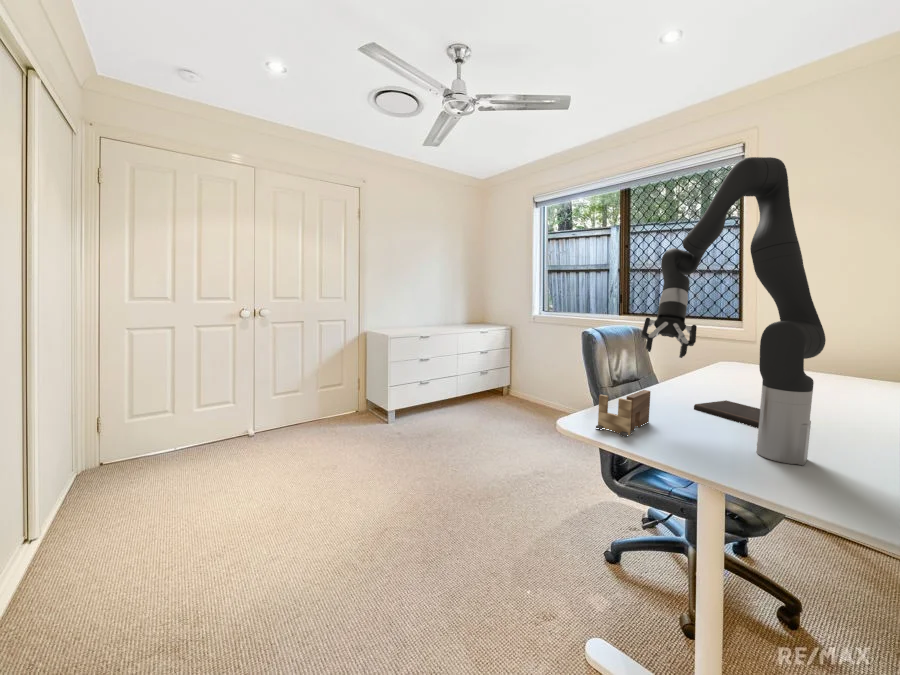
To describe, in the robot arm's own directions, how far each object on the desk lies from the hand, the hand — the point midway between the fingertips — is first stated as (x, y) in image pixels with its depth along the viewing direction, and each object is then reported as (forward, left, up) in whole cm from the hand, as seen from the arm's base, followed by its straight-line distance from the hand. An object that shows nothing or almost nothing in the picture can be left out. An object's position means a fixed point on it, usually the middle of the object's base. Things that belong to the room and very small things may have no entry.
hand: (665, 353), depth 116 cm
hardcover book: (-14, -30, -23) cm, 41 cm away
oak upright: (+7, +16, -22) cm, 28 cm away
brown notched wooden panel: (+5, +6, -22) cm, 23 cm away
